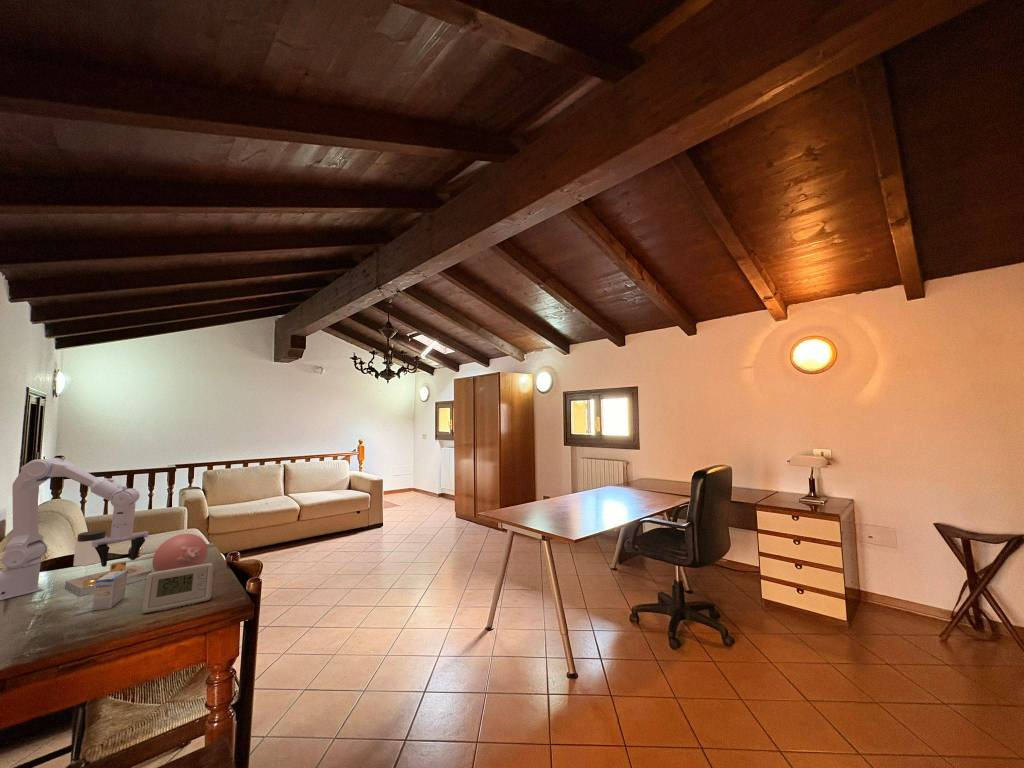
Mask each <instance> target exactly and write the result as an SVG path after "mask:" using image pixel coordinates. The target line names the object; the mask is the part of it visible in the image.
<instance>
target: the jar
mask: <svg viewBox="0 0 1024 768" xmlns="http://www.w3.org/2000/svg"><path fill="white" fill-rule="evenodd" d="M104 538H108V537H107V530H106V529H98V530H96V529H95V530H90V531H84V532H80V533H78V534H77V539H76V542H75V548H74V555H73V565H72V566H73V567H85V566H90V565H96V564H99V563H100V564H101V560H100V557H99V554H98V552H97V551H96V549H95V547H92V541H95V540H99V539H104Z"/></svg>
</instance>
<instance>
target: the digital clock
mask: <svg viewBox="0 0 1024 768" xmlns="http://www.w3.org/2000/svg"><path fill="white" fill-rule="evenodd" d="M213 575H214V564H213V563H212V562H211V563H204V564H202V565H193V566H187V567H180V568H174V569H168V570H164V571H158V572H155V571H153V572H151V573H150V574H148V576H147V579H145V587H144V595H143V601H142V609H141V612H142V613H143V614H148V613H153V612H162V610H163V611H167V610H172V608H173V609H177V607H178V608H182V607H181V606H183V607H186V606H185V605H188V606H191V605H190V604H192V605H196V604H197V603H201V602H202V603H203V602H207V601H209V600H210V599H211V596H212V587H213V585H212V584H213ZM195 603H196V604H195Z"/></svg>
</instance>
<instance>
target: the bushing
mask: <svg viewBox="0 0 1024 768" xmlns="http://www.w3.org/2000/svg"><path fill="white" fill-rule="evenodd" d="M109 566H110V568H109V571H110V572H116V571H125V570H126V567H127V562H126V561H118V562H114V563H110V565H109Z"/></svg>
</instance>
